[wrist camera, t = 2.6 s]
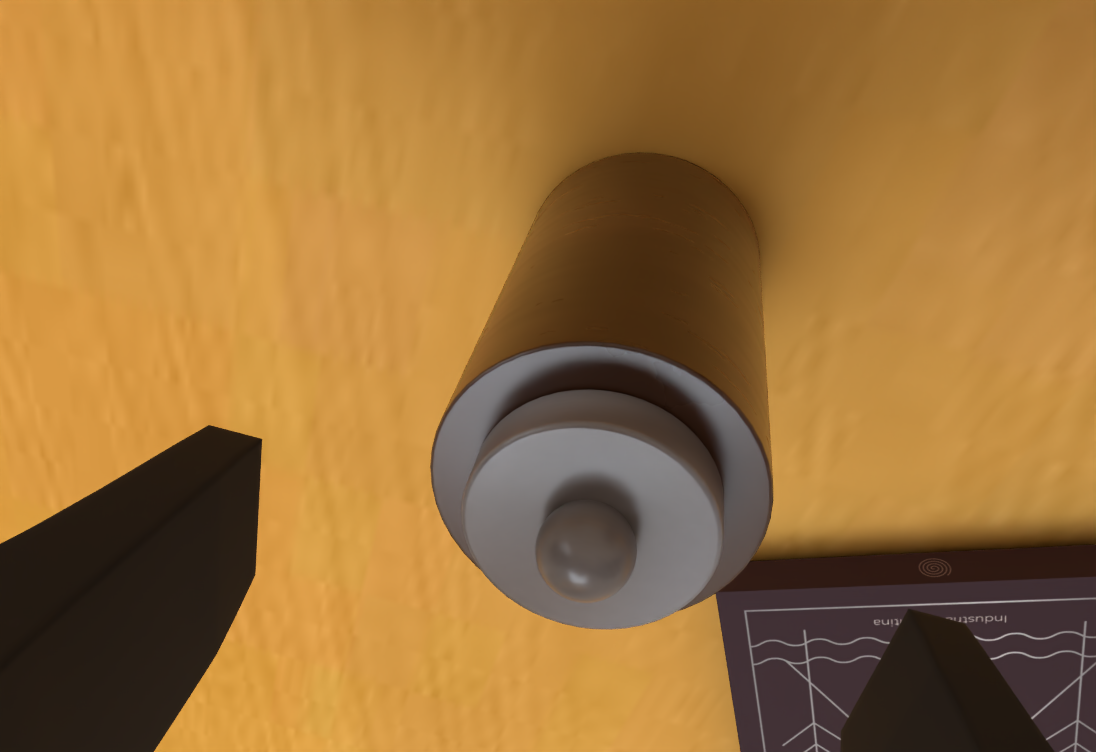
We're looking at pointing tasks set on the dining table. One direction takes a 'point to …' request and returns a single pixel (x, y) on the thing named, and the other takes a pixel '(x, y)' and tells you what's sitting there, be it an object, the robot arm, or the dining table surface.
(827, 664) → the chocolate bar
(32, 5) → the dining table surface
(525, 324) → the pepper mill
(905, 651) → the robot arm
